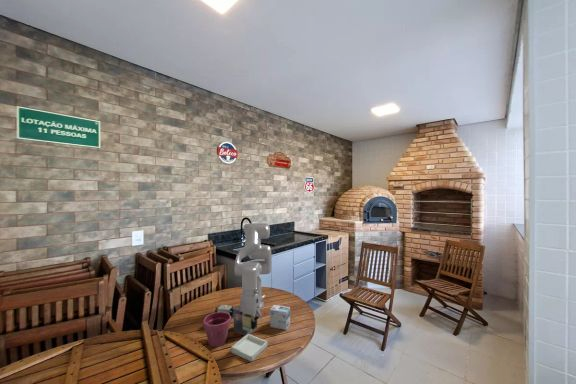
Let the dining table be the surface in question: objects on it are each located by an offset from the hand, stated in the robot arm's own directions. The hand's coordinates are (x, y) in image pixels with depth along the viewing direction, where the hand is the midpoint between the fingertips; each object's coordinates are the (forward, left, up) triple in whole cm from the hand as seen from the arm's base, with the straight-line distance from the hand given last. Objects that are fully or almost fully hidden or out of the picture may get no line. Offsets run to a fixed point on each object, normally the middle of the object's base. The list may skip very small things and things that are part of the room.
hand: (249, 326), depth 125 cm
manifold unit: (-12, -13, -12) cm, 22 cm away
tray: (0, 0, -12) cm, 12 cm away
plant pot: (+4, -19, -12) cm, 23 cm away
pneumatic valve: (-10, -27, -12) cm, 31 cm away
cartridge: (0, 0, -1) cm, 1 cm away
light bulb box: (-26, +2, -12) cm, 29 cm away
